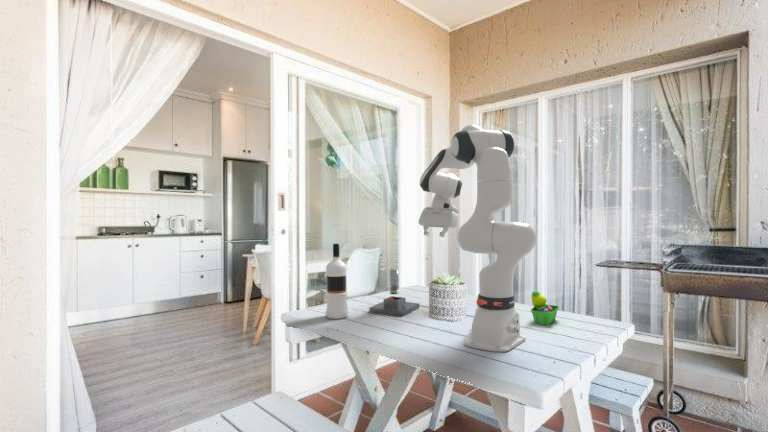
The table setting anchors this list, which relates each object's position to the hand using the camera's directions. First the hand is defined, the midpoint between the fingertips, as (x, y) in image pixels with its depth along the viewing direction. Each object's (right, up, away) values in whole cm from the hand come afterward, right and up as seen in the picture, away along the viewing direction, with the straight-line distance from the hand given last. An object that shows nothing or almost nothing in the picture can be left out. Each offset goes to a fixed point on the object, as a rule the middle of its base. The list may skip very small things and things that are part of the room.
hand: (433, 235), depth 184 cm
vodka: (-42, -32, -17) cm, 56 cm away
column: (-18, -25, -8) cm, 31 cm away
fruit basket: (+39, -31, -28) cm, 57 cm away
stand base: (-18, -32, -8) cm, 37 cm away
